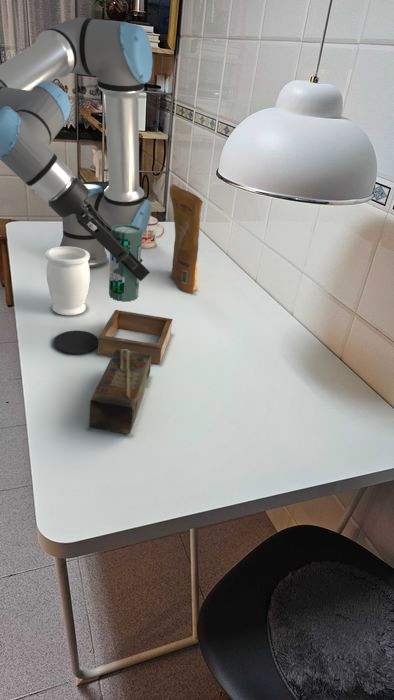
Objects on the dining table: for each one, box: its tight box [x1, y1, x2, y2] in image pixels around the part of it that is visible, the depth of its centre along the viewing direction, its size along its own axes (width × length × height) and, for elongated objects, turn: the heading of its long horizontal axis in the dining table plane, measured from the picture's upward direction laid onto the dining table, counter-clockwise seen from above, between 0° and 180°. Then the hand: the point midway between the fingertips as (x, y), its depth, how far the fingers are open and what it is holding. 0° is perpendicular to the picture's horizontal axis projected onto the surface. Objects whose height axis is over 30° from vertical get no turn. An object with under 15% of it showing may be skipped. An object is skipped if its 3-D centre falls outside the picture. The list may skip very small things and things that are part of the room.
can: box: [108, 224, 142, 303], centre depth 100 cm, size 6×6×15 cm
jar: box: [45, 246, 91, 316], centre depth 118 cm, size 11×10×15 cm
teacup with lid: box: [141, 214, 166, 249], centre depth 169 cm, size 12×9×12 cm
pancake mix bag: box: [169, 183, 203, 294], centre depth 138 cm, size 7×19×28 cm, turn 20°
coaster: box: [53, 330, 98, 356], centre depth 108 cm, size 10×10×1 cm
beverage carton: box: [88, 349, 152, 435], centre depth 90 cm, size 8×19×7 cm, turn 174°
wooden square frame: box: [97, 309, 173, 365], centre depth 109 cm, size 14×14×4 cm
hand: (141, 269), depth 102 cm, fingers closed on can, 6 cm apart
